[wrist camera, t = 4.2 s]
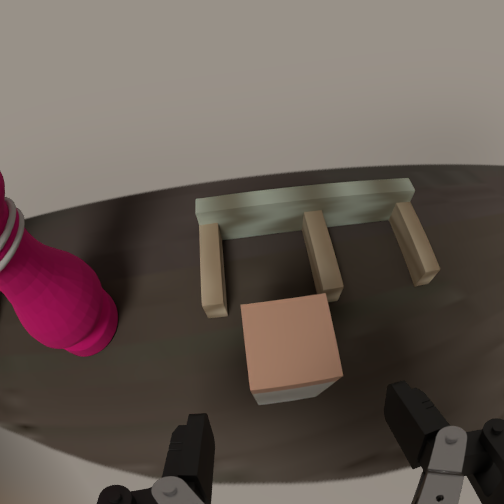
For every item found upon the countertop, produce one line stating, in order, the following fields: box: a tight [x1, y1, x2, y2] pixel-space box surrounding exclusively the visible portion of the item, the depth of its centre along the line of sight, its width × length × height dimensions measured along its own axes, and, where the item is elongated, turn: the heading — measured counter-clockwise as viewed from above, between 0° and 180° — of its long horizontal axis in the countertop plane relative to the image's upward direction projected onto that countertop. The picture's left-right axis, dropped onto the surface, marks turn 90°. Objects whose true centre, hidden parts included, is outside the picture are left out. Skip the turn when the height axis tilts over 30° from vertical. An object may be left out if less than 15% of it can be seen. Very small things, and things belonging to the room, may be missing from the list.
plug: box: [241, 293, 343, 405], centre depth 17 cm, size 4×4×9 cm
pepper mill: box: [0, 172, 118, 356], centre depth 15 cm, size 7×7×20 cm
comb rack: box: [196, 178, 440, 318], centre depth 24 cm, size 18×8×4 cm, turn 96°
